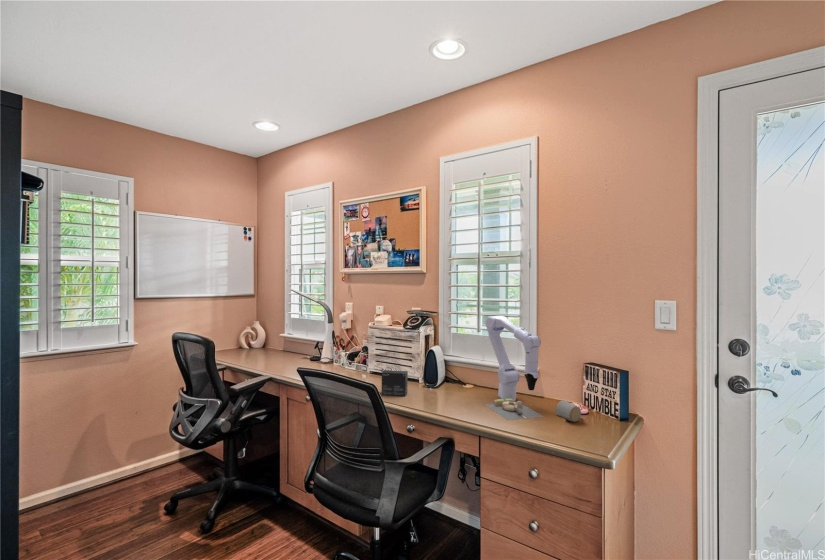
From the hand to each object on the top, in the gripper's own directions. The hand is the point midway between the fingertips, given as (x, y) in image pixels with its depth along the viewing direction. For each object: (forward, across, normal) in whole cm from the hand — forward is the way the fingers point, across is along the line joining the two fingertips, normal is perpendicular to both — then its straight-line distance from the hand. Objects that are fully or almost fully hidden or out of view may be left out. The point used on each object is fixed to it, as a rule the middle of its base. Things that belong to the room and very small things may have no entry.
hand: (531, 389), depth 190 cm
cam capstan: (+8, +6, -10) cm, 14 cm away
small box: (+10, -25, -65) cm, 70 cm away
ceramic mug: (+10, +13, +13) cm, 21 cm away
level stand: (+9, +6, -10) cm, 15 cm away
